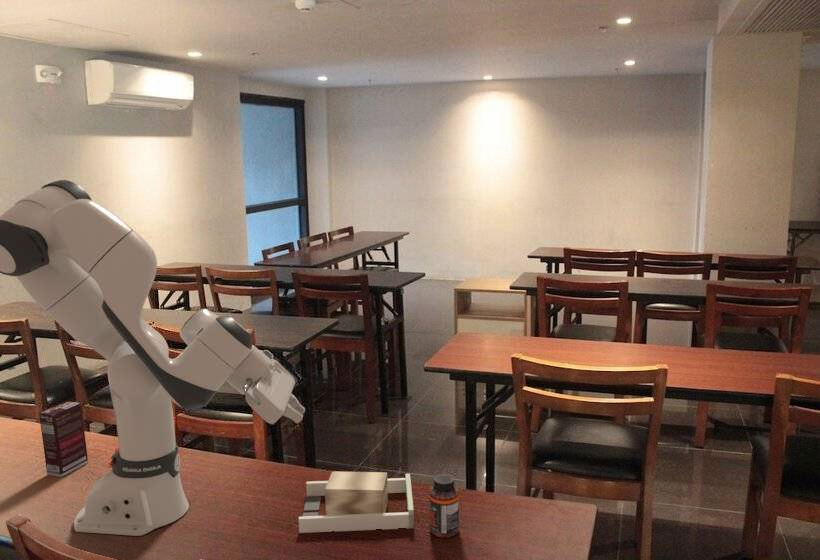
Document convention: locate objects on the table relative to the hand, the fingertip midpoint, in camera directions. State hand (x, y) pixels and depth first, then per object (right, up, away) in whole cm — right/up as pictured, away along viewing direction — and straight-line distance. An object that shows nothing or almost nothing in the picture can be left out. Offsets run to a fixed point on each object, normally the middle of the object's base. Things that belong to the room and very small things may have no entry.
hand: (301, 416), depth 142 cm
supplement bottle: (+29, -22, -4) cm, 37 cm away
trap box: (+11, -21, +4) cm, 24 cm away
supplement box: (-61, -18, +26) cm, 69 cm away
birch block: (+11, -21, +4) cm, 24 cm away
